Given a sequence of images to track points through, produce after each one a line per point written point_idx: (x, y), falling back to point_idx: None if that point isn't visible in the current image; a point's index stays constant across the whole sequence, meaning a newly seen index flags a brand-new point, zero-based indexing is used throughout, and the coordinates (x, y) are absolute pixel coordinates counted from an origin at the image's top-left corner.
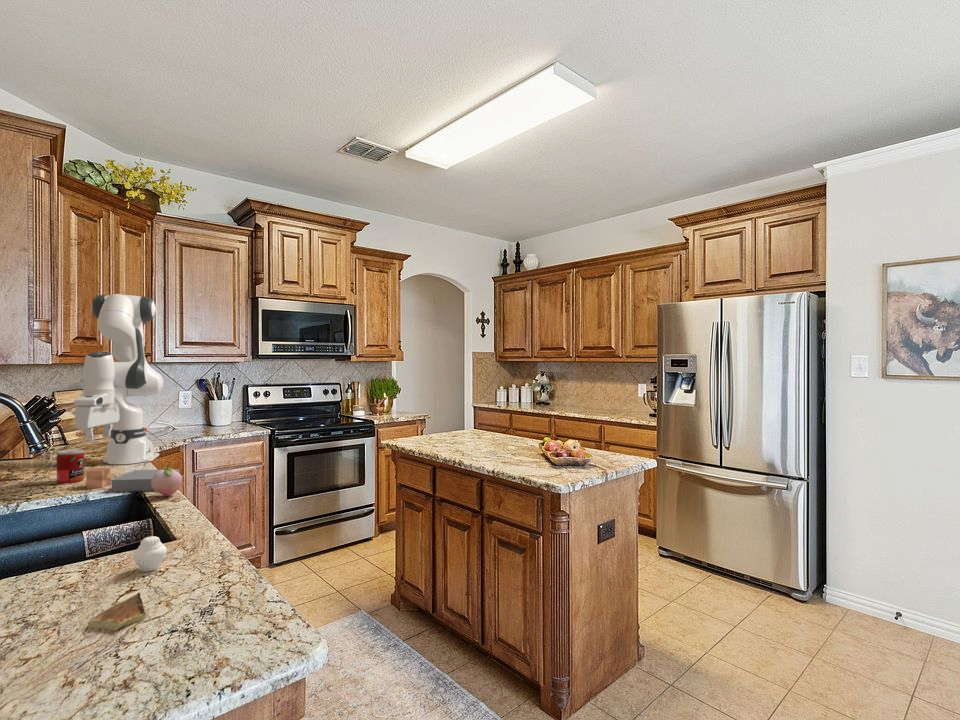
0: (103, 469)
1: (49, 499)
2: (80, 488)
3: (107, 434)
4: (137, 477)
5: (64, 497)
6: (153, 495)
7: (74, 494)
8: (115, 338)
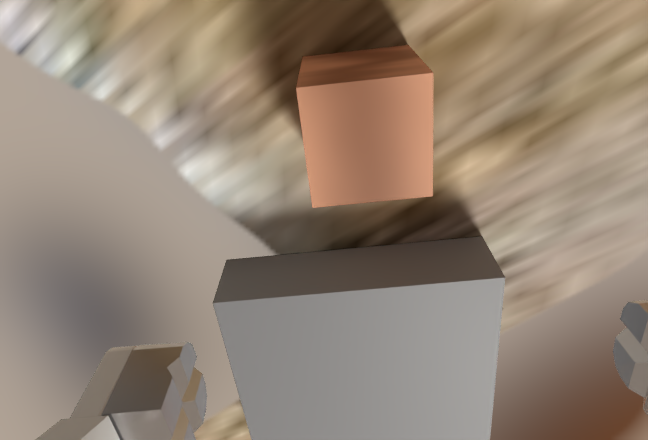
0: (362, 185)
1: (4, 18)
2: (302, 12)
3: (638, 387)
4: (285, 386)
5: (71, 82)
6: None
7: (146, 92)
8: None
